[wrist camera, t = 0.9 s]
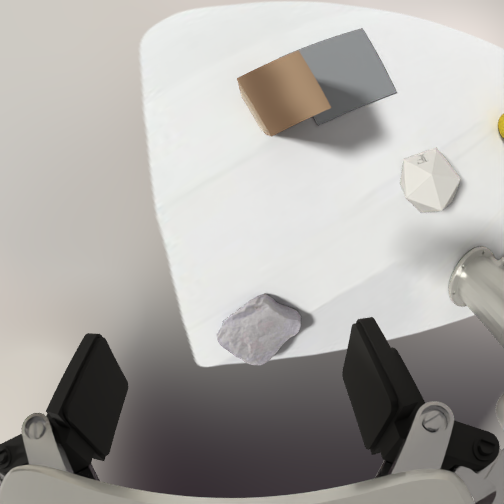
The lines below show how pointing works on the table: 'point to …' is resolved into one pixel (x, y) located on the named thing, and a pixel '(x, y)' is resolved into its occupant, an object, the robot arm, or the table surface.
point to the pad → (347, 73)
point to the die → (429, 181)
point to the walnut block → (282, 93)
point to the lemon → (501, 125)
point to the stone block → (258, 329)
